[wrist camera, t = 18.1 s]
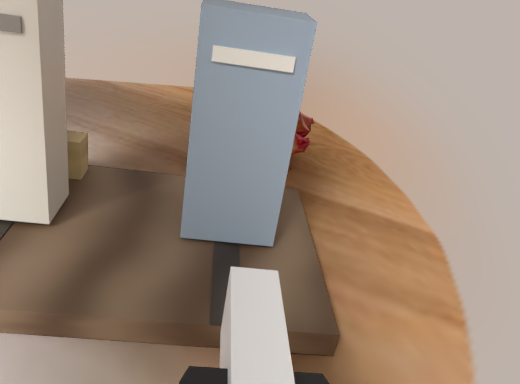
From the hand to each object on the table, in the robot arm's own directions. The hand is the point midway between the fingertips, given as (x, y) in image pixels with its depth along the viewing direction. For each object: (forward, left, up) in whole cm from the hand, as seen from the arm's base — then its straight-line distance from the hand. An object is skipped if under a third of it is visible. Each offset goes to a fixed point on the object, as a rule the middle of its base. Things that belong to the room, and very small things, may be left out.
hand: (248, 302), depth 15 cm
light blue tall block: (0, +16, -7) cm, 17 cm away
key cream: (-14, +16, -7) cm, 22 cm away
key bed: (-7, +15, -9) cm, 18 cm away
